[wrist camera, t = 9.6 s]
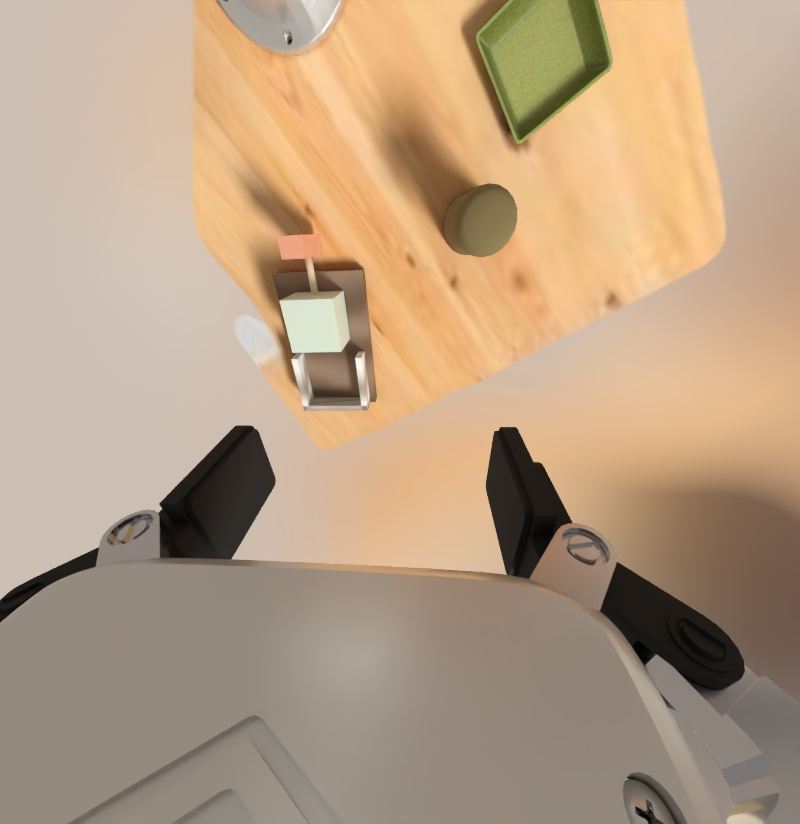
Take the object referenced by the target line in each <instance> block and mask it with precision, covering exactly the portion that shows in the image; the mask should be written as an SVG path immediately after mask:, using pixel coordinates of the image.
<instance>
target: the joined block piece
mask: <svg viewBox="0 0 800 824" xmlns="http://www.w3.org/2000/svg"><path fill="white" fill-rule="evenodd" d="M277 241H278V245H279V249H280V254H281V258H282V260H284V259H305V263H306V268H307V273H308V278H309V284H310V289H311V292H296V293H294V294H292V295H290V296H288V297H286V298H284V299H282V300H280V305H281V309H282V313H283V317H284V321H285V325H286V329H287V333H288V337H289V341H290V345H291V349H292V353H313V352H341V351H342V350H343V348H344V347H345V346H346V344H347V343H348V341H349V340H350V334H349V327H348V320H347V313H346V305H345V298H344V291H323V292H318V288H317V283H316V277H315V272H314V266H313V261H312V257H314V256H318V255H323V250H322V244H321V238H320V234H309V235H286V236H277Z"/></svg>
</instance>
